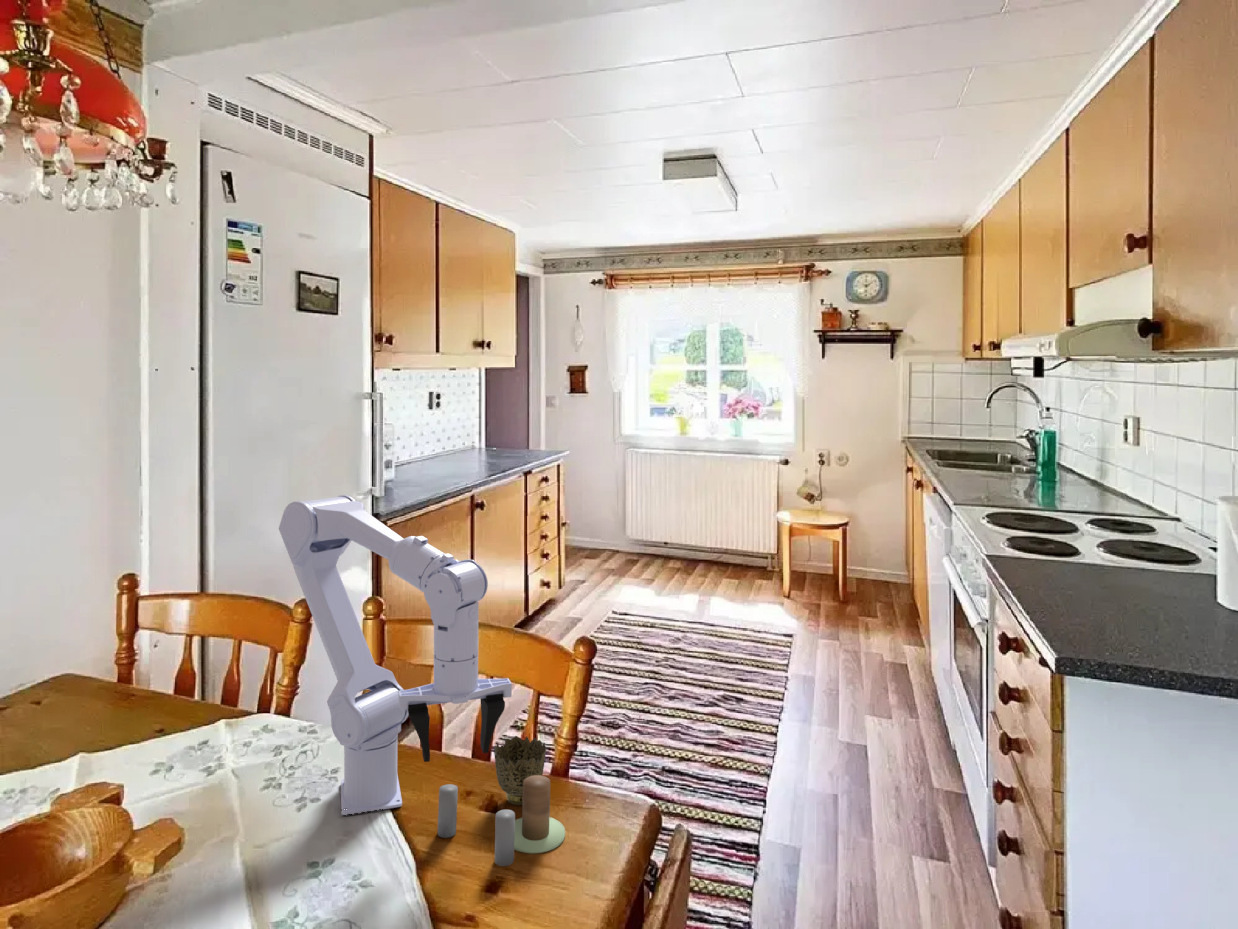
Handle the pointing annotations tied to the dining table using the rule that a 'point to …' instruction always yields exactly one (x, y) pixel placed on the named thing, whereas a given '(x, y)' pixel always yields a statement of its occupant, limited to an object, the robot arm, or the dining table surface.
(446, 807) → the post
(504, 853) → the post
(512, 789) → the cup
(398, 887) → the dining table surface
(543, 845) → the coaster
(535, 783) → the dowel
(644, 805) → the dining table surface
